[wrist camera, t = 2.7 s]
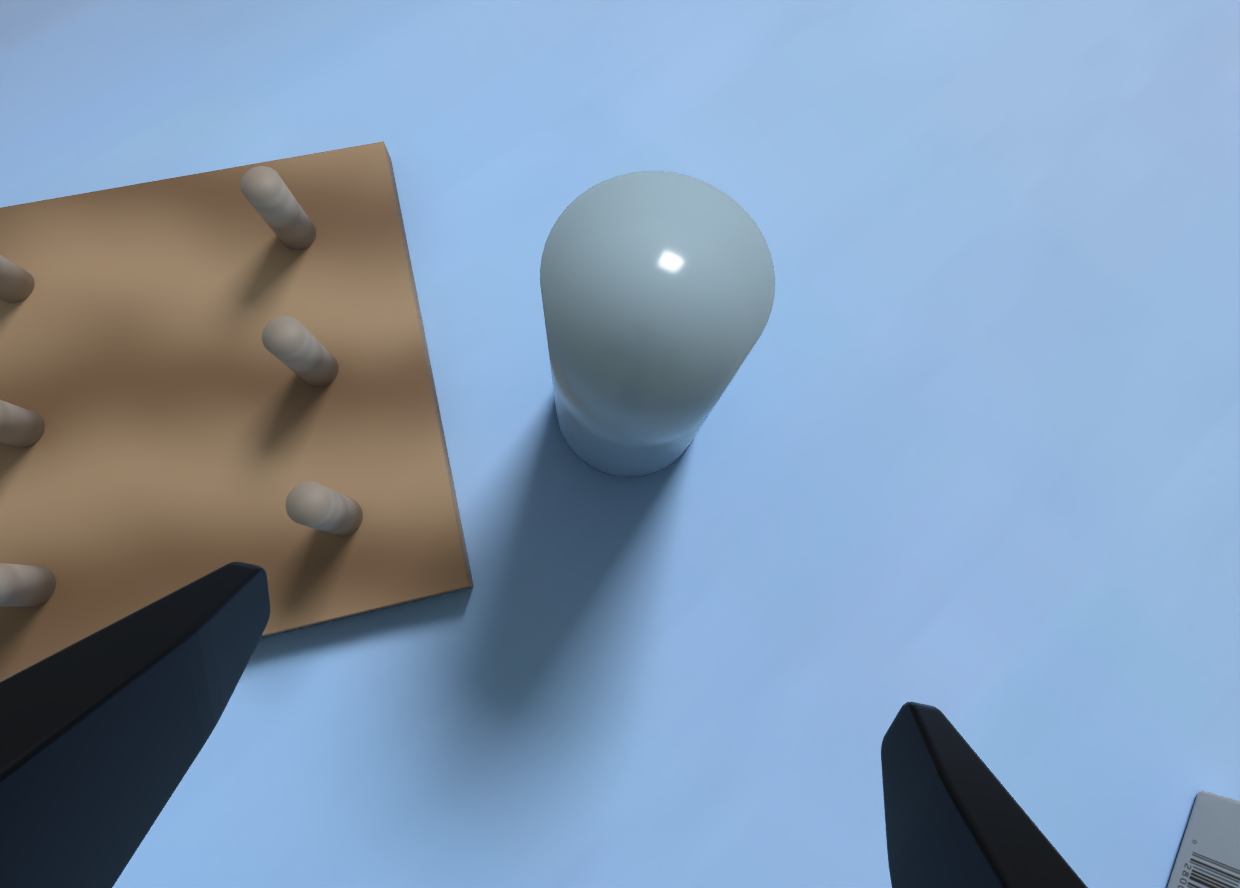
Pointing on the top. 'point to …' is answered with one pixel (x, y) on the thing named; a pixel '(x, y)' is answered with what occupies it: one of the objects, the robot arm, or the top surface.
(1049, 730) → the top surface
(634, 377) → the grey dome-topped cylinder
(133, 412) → the dish rack
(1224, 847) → the brown food box
